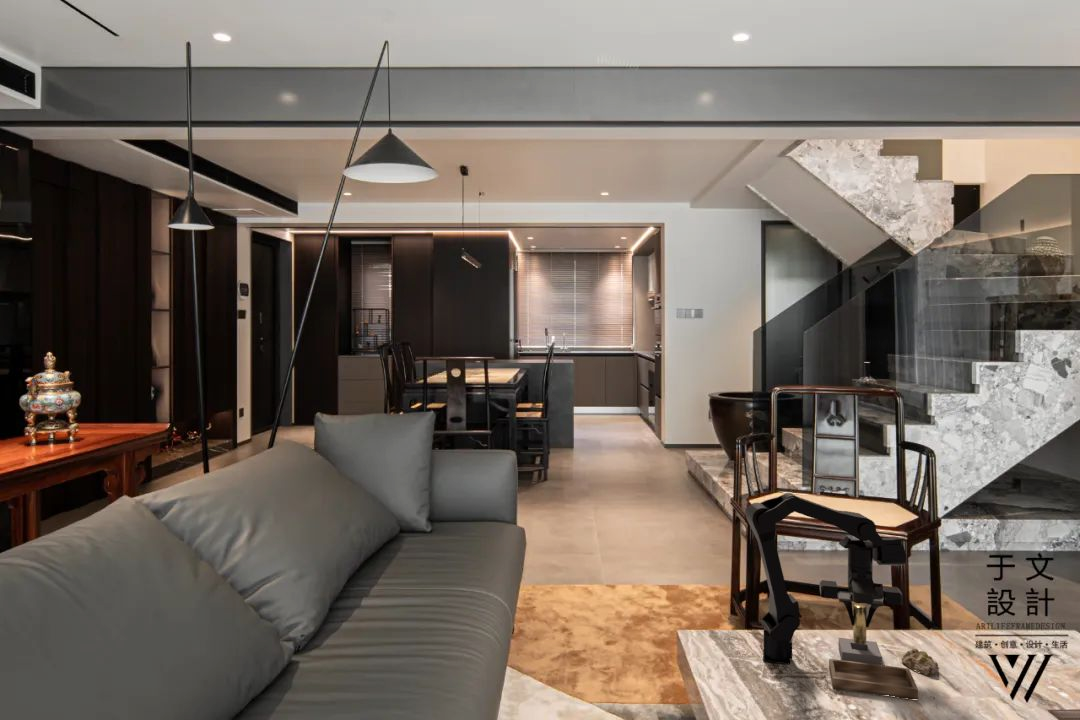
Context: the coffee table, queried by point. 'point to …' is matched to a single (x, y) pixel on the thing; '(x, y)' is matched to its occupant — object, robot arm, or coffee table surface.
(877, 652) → the block
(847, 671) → the walnut tray
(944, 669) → the coffee table surface
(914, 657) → the mineral rock
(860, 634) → the brass pin
